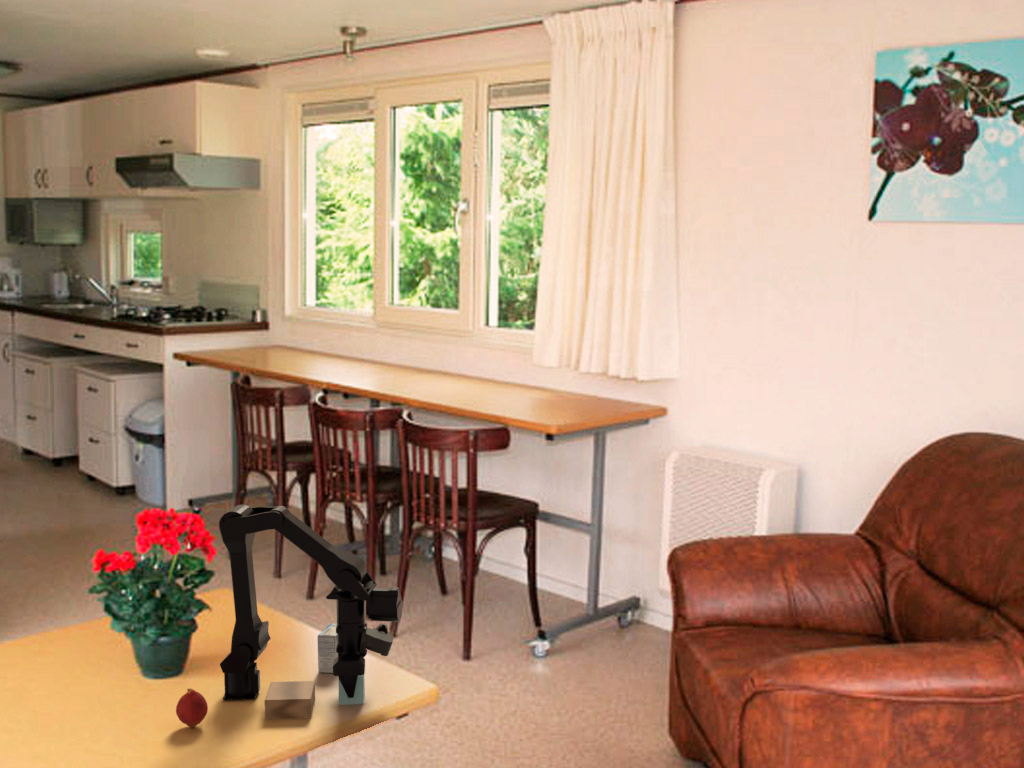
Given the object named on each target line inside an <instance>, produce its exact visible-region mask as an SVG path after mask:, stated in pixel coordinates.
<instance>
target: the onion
mask: <svg viewBox="0 0 1024 768" xmlns="http://www.w3.org/2000/svg"><path fill="white" fill-rule="evenodd" d="M208 709H209V705H208V702H207V700H206V698H205V697H204V695H203V694H201V693H200V692H199V691H196V689H193V688H192V687H189V688H187V689H186V692H185V693H184V694H183V695H182V696H181V697H180V698H179V699H178V702H177V705H176V709H175V713H176V716H177V717H178V719H179V721H180V722H181V723H183V724H184V725H186V726H188V727H189V728H195V727H196V726H199V724H200V723H202V722H203V720H205V718H206V716H207V714H208Z"/></svg>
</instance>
